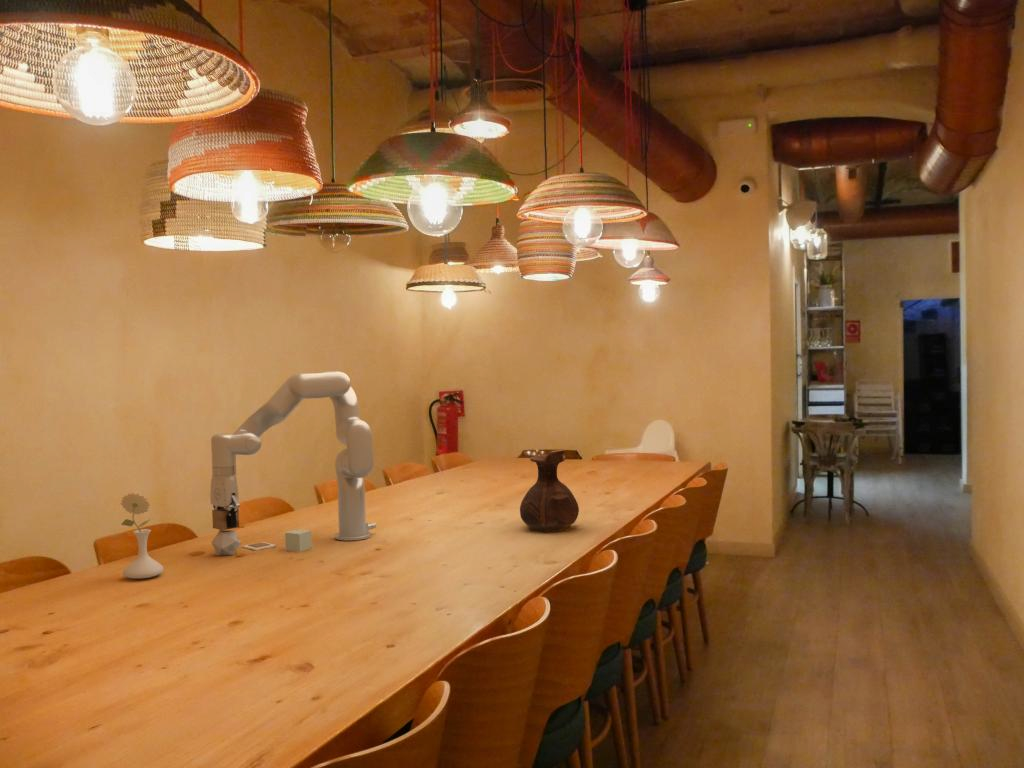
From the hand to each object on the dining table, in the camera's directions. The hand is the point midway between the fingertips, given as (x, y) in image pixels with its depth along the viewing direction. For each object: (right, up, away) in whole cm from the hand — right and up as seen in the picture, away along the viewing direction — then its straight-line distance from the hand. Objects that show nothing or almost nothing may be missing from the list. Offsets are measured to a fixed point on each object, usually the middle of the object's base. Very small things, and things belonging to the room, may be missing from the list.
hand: (226, 525), depth 293 cm
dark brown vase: (+108, -6, +33) cm, 113 cm away
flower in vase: (-16, -11, -28) cm, 34 cm away
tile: (+8, -9, +11) cm, 16 cm away
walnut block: (0, -1, 0) cm, 1 cm away
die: (0, -10, 0) cm, 10 cm away
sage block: (+22, -9, +6) cm, 25 cm away
